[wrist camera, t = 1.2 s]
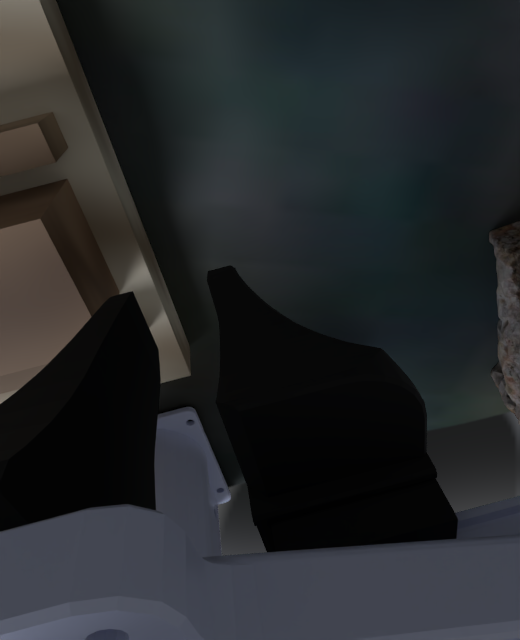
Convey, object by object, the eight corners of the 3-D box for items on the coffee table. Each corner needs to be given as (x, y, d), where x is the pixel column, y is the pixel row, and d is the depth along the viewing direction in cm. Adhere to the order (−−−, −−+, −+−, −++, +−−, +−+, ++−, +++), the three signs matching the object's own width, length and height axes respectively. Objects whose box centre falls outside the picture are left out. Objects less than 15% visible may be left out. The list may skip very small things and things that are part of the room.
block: (119, 291, 19) (108, 347, 16) (6, 321, 19) (-28, 383, 16) (67, 178, 16) (40, 218, 13) (-65, 213, 16) (-126, 261, 13)
